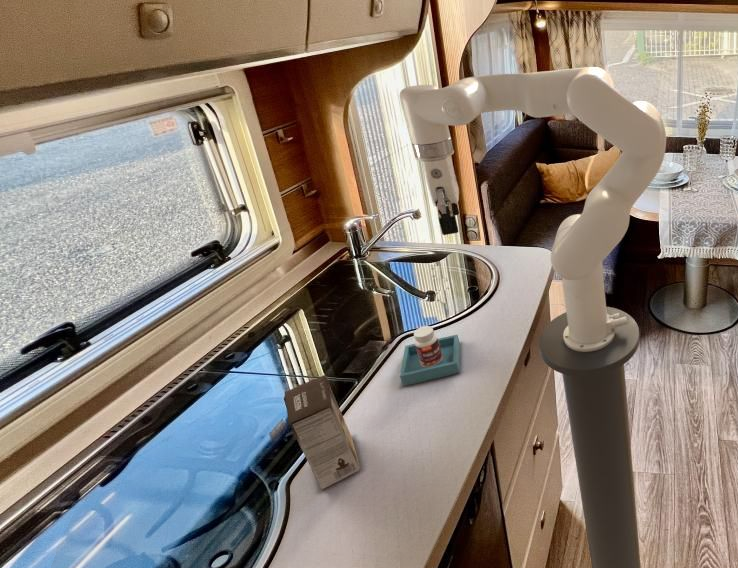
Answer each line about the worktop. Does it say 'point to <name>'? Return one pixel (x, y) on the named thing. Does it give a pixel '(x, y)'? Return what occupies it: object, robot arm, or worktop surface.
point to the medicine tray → (448, 366)
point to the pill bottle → (427, 347)
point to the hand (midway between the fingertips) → (451, 224)
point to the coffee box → (321, 431)
